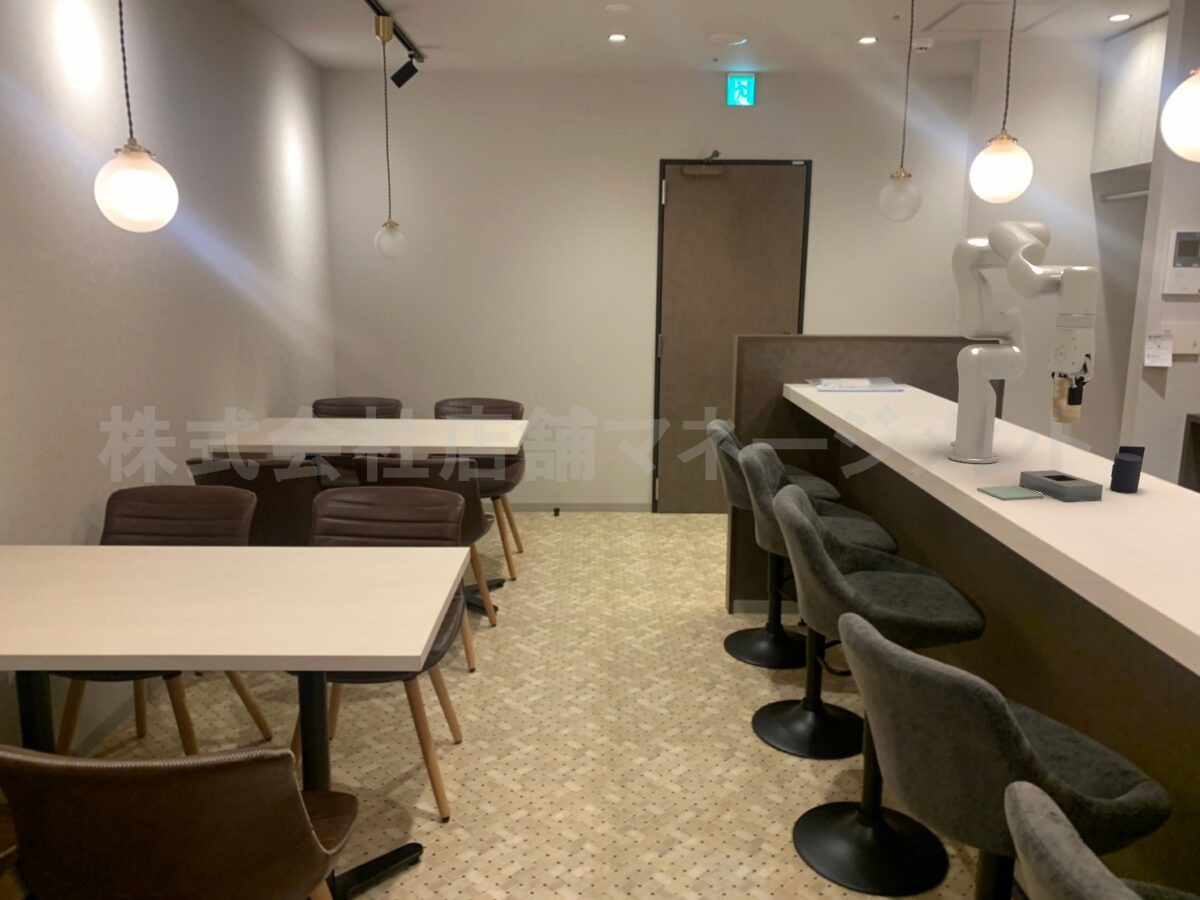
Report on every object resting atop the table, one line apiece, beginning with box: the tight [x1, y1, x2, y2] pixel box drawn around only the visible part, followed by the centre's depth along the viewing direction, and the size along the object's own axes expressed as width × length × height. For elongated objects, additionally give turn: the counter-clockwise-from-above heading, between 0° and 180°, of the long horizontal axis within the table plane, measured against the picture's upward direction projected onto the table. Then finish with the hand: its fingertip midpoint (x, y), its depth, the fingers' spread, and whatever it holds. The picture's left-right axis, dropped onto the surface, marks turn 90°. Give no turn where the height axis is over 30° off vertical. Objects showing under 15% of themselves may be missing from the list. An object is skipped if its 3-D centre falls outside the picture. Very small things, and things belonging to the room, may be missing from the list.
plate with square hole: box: [1019, 469, 1104, 503], centre depth 202 cm, size 16×9×4 cm, turn 10°
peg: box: [1051, 376, 1082, 424], centre depth 198 cm, size 4×4×10 cm
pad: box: [976, 485, 1044, 501], centre depth 201 cm, size 10×10×1 cm
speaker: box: [1109, 445, 1146, 494], centre depth 204 cm, size 8×6×10 cm
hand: (1067, 402), depth 198 cm, fingers closed on peg, 4 cm apart
